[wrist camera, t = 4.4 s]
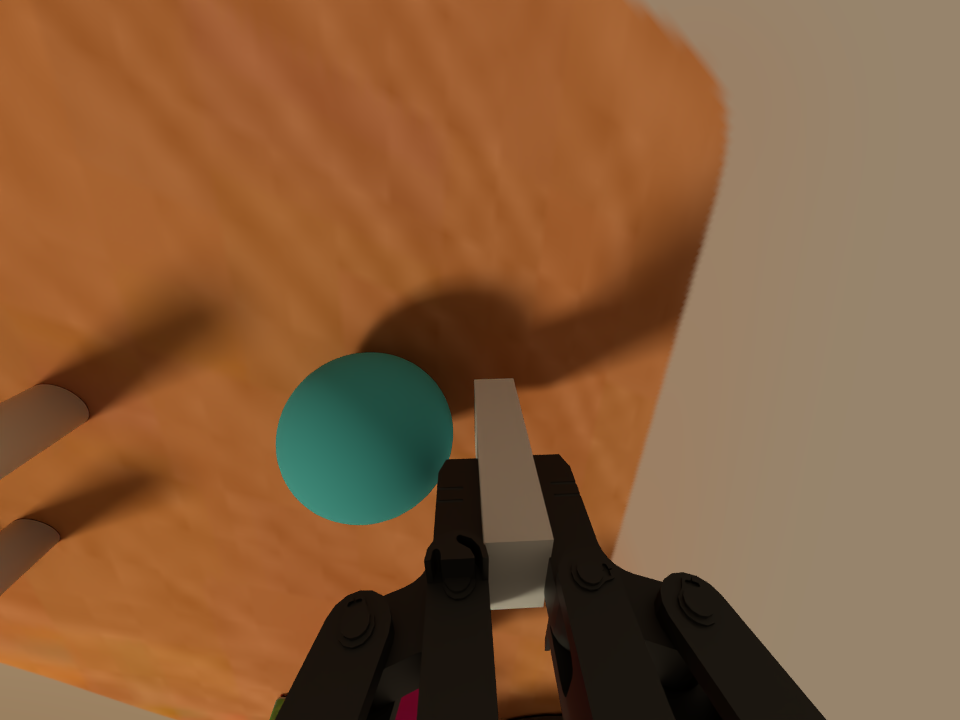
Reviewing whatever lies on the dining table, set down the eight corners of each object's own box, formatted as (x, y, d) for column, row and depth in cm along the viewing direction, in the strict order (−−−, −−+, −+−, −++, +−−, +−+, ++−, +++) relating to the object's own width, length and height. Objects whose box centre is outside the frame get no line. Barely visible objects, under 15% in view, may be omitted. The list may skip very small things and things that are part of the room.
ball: (458, 437, 17) (457, 558, 12) (333, 444, 17) (275, 570, 11) (449, 322, 14) (442, 415, 9) (298, 329, 14) (198, 428, 9)
